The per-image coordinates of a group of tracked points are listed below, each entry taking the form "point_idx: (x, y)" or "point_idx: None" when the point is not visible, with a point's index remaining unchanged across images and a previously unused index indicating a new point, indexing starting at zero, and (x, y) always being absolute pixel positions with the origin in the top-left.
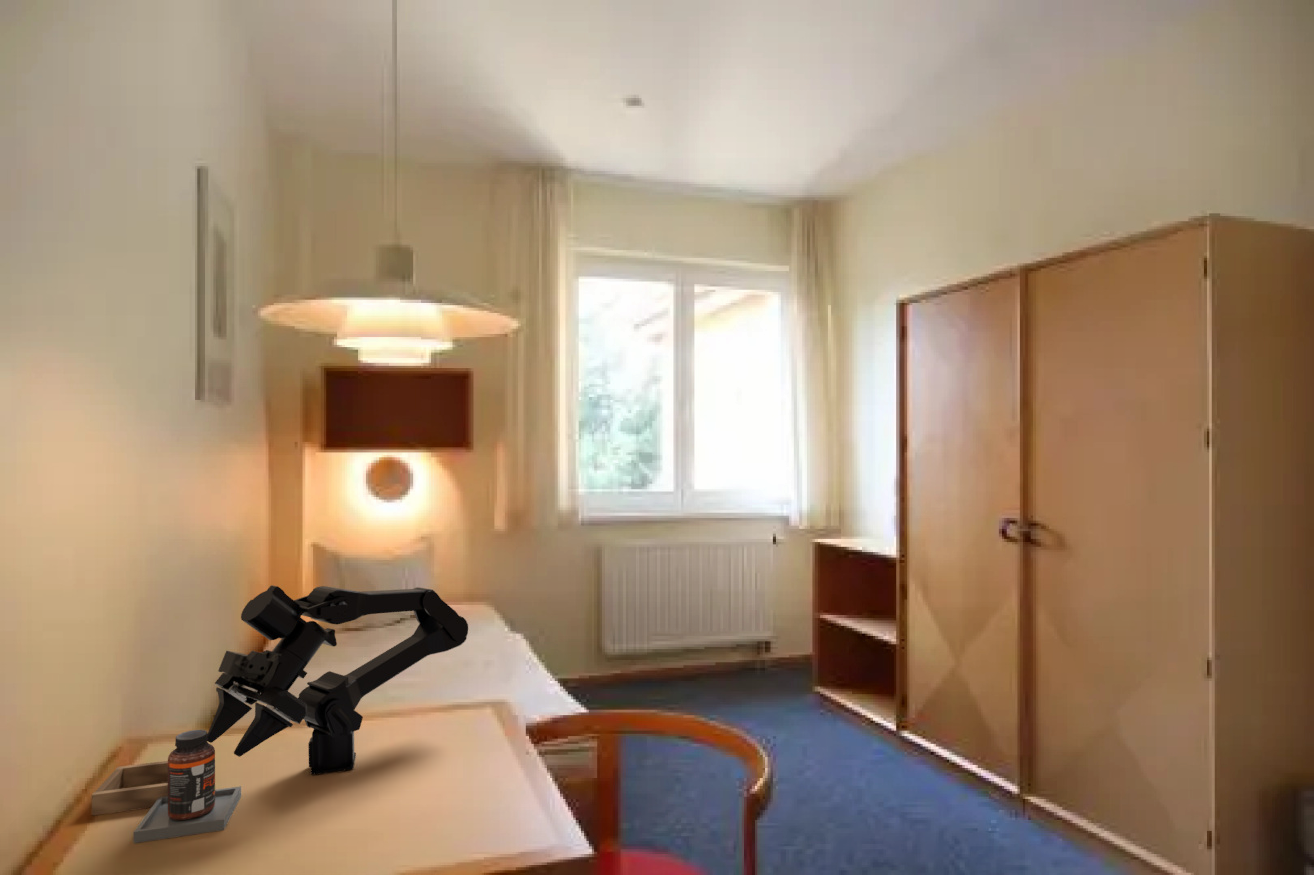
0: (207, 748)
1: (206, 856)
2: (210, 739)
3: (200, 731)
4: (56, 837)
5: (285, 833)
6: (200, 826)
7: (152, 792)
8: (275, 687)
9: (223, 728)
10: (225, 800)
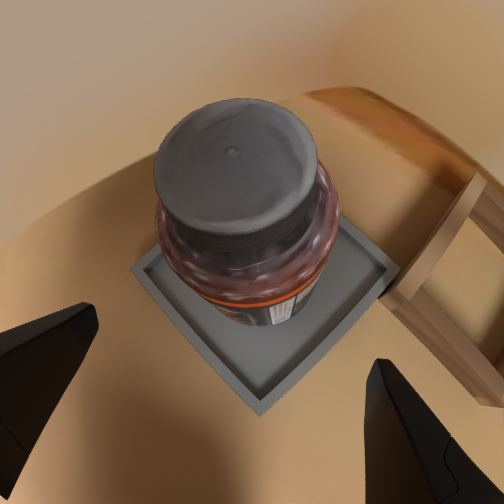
0: (174, 234)
1: (96, 204)
2: (370, 376)
3: (226, 201)
4: (412, 129)
5: (36, 315)
6: None
7: (418, 255)
8: None
9: (373, 451)
10: (244, 358)
